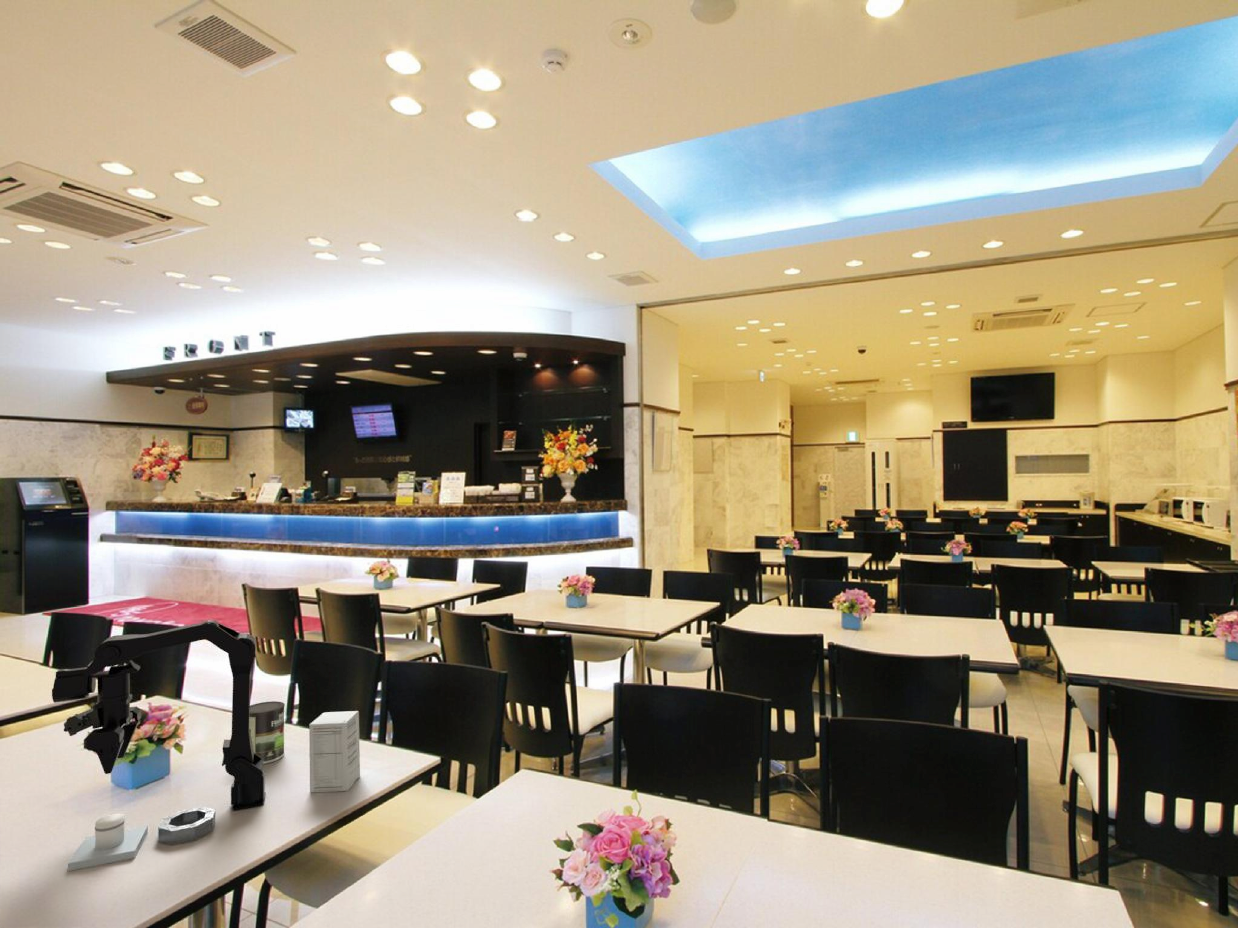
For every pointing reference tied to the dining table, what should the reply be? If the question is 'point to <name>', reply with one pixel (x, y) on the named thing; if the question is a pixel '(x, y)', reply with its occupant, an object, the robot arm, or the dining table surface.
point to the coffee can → (267, 730)
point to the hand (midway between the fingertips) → (114, 765)
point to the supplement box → (334, 751)
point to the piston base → (110, 854)
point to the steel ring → (186, 826)
